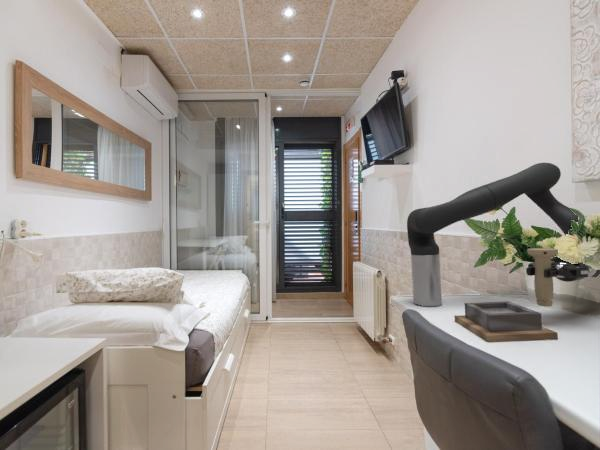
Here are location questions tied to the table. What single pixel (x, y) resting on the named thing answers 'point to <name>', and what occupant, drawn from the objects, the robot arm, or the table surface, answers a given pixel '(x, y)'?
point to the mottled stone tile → (499, 310)
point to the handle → (541, 283)
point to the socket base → (504, 323)
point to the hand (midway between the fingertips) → (537, 272)
